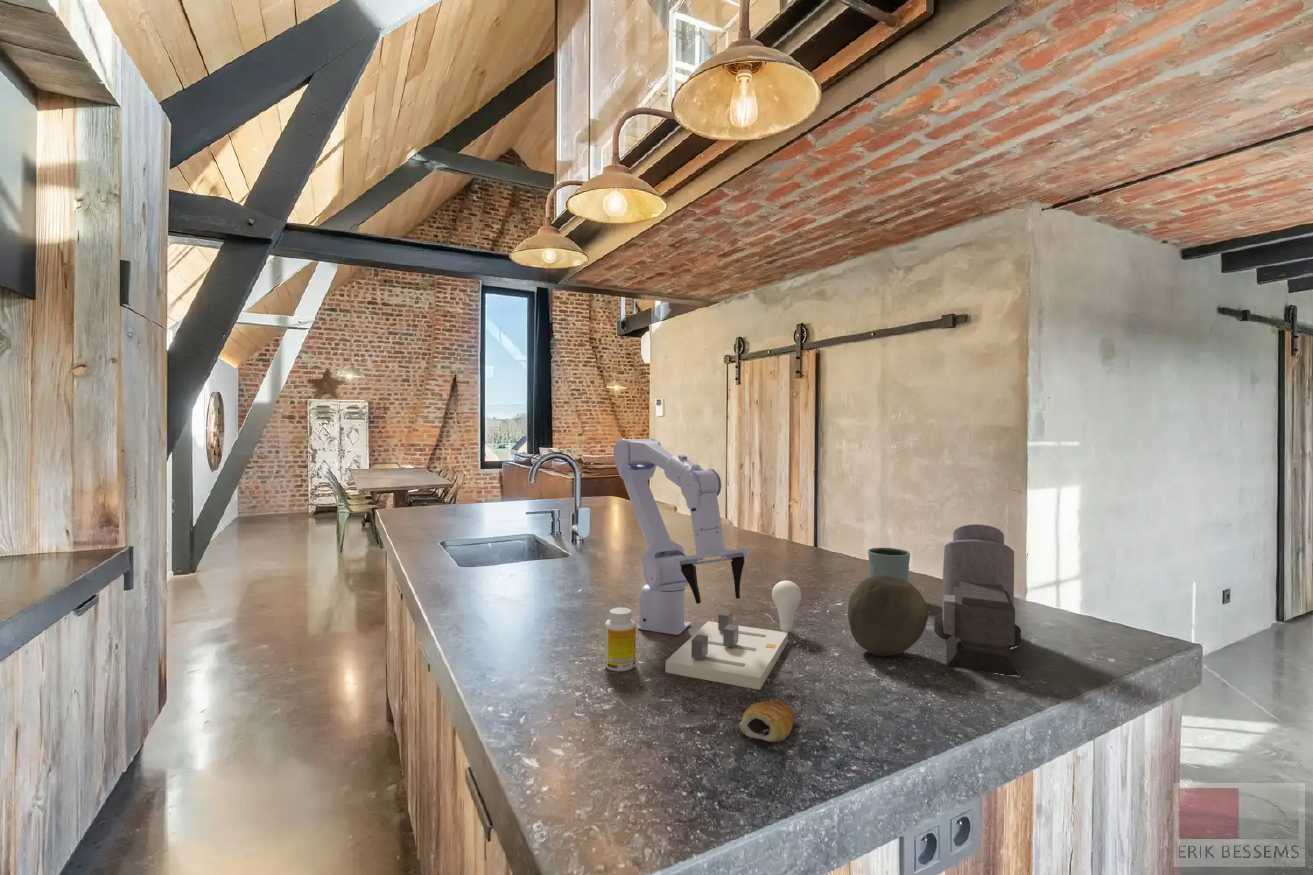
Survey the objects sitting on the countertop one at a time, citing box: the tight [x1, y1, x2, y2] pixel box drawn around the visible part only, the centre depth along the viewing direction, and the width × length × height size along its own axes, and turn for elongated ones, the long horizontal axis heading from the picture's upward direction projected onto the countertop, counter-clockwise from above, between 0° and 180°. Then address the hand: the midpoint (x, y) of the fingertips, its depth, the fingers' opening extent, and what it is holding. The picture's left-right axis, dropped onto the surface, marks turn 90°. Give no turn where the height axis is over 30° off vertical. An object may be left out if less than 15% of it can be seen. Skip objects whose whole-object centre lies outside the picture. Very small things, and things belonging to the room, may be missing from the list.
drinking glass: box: [867, 547, 911, 582], centre depth 154 cm, size 10×10×12 cm
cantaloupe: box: [847, 575, 929, 657], centre depth 115 cm, size 14×14×15 cm
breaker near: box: [691, 634, 708, 660], centre depth 107 cm, size 2×3×3 cm, turn 157°
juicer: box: [933, 523, 1022, 676], centre depth 120 cm, size 30×16×24 cm, turn 155°
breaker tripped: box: [723, 623, 739, 647], centre depth 113 cm, size 2×3×3 cm, turn 157°
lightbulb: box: [771, 580, 802, 633], centre depth 127 cm, size 6×6×11 cm
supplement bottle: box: [604, 607, 637, 673], centre depth 108 cm, size 6×6×10 cm
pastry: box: [738, 699, 795, 743], centre depth 87 cm, size 9×7×4 cm
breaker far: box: [717, 609, 733, 631], centre depth 122 cm, size 2×3×3 cm, turn 157°
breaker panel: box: [664, 620, 789, 691], centre depth 113 cm, size 17×24×2 cm
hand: (718, 600), depth 115 cm, fingers open, 7 cm apart
